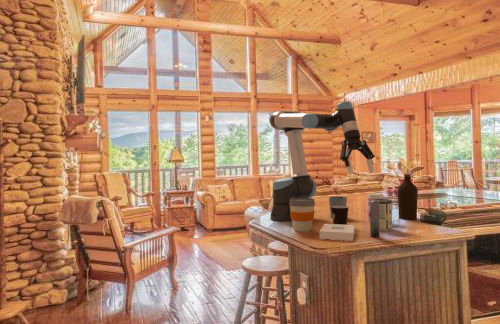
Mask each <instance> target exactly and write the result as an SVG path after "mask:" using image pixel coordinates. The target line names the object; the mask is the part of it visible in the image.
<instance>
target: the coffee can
mask: <svg viewBox="0 0 500 324" xmlns="http://www.w3.org/2000/svg"><path fill="white" fill-rule="evenodd" d="M372 200H378V201H379V211H380V232H381V231H383V232H386V231H387V232H388V231H392V230H393V200H392V199H389V198H388V199H387V198H384V199H372ZM370 201H371V200H370Z"/></svg>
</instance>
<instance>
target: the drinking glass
mask: <svg viewBox="0 0 500 324" xmlns="http://www.w3.org/2000/svg"><path fill="white" fill-rule="evenodd" d="M328 200H329V212H330V213H329V215H330V218H331V219H333V217H332V209H331V207H332V206H347V202H348V201H347V200H348V197H347V196H329V197H328Z"/></svg>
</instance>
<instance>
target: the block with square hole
mask: <svg viewBox="0 0 500 324" xmlns="http://www.w3.org/2000/svg"><path fill="white" fill-rule="evenodd" d="M355 230H356V225H355V224H347V225H341V224H333V223H324V224H323V225H322V226H321V229H320V230H319V240H325V239H330V240H331V241H343V240H344V241H345V242H347V241H348V242H353V241H354V238H355V233H356V231H355ZM330 240H329V241H330ZM344 241H343V242H344Z"/></svg>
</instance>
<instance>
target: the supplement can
mask: <svg viewBox="0 0 500 324" xmlns="http://www.w3.org/2000/svg"><path fill="white" fill-rule="evenodd" d="M372 199H385V196H384V194H383V193H369V195H368V200H367V201H368V202H367V203H368V205H367V206H368V207H367V209H368V211H367V214H368V221H369V222H370V200H372Z"/></svg>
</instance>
